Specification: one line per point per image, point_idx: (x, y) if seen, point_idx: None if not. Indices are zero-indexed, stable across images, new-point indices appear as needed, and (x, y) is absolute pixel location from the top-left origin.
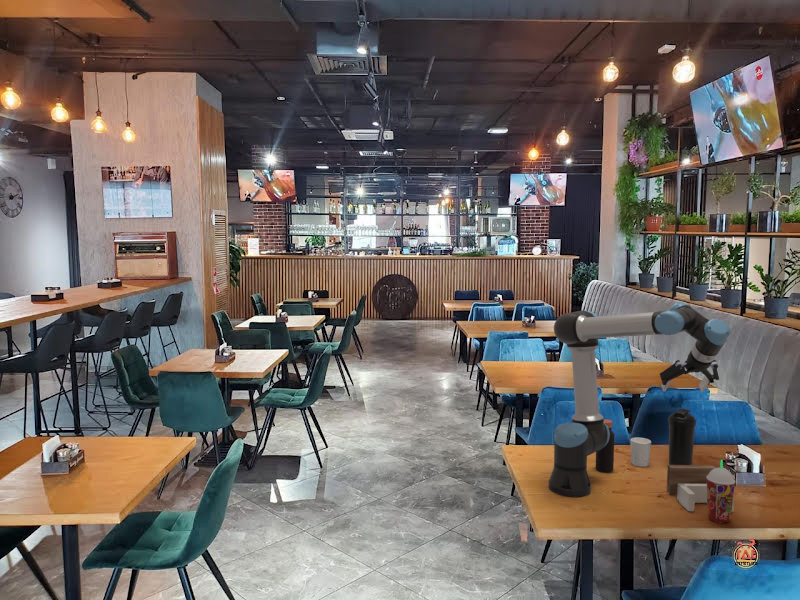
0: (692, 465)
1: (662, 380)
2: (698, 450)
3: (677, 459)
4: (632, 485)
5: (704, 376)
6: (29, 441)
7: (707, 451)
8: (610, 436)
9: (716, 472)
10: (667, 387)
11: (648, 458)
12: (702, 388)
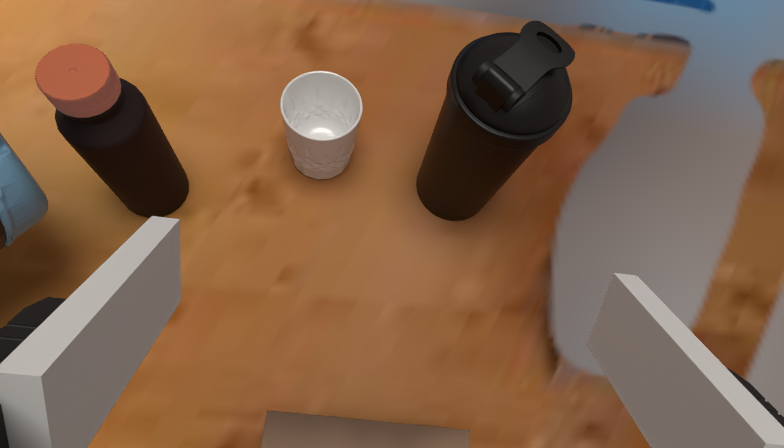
0: (379, 426)
1: (4, 338)
2: (575, 72)
3: (435, 196)
4: (176, 342)
5: (742, 422)
6: None
7: (599, 83)
8: (102, 149)
9: None
10: (142, 359)
11: (339, 163)
12: (611, 376)
